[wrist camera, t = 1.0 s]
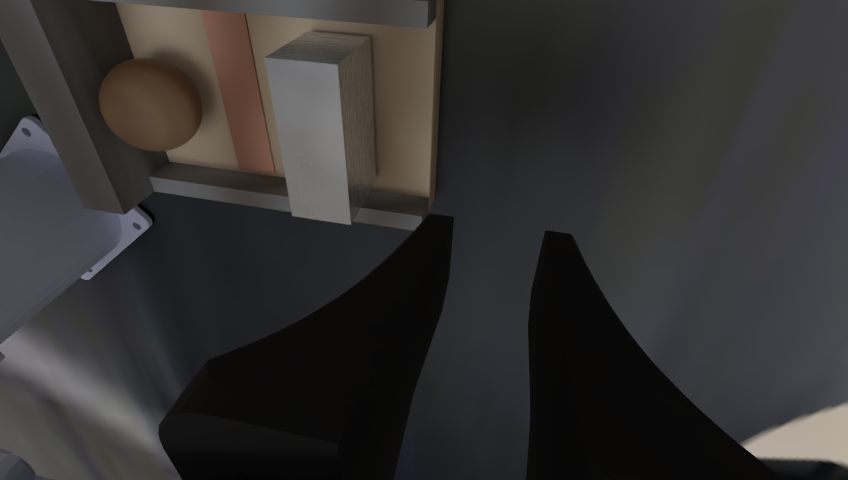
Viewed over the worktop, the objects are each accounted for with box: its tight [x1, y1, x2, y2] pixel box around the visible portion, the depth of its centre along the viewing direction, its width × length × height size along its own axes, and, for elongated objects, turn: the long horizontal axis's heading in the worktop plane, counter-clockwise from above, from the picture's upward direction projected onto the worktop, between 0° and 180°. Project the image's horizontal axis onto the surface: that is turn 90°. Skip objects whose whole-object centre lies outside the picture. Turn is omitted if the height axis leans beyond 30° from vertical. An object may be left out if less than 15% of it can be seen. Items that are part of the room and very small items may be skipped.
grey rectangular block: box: [264, 31, 376, 225], centre depth 18 cm, size 2×6×3 cm, turn 179°
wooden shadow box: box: [0, 0, 444, 231], centre depth 19 cm, size 15×9×5 cm, turn 90°
